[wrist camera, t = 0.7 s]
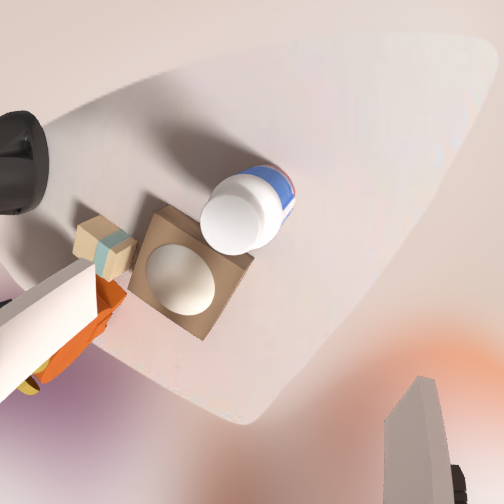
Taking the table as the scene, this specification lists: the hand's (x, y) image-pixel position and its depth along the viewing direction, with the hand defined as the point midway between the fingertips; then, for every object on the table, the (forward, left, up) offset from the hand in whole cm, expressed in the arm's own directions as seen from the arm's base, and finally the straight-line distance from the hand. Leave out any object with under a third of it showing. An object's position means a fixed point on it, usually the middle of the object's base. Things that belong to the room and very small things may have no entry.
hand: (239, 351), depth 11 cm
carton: (-17, -14, -19) cm, 29 cm away
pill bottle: (-4, 0, -19) cm, 20 cm away
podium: (-7, -11, -19) cm, 23 cm away
